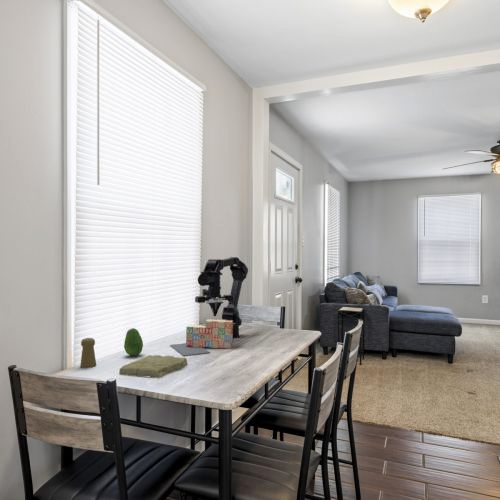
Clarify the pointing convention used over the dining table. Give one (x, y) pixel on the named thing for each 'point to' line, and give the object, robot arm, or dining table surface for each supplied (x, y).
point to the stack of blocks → (210, 334)
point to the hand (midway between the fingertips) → (214, 316)
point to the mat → (188, 349)
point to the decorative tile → (153, 366)
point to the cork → (88, 353)
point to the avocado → (133, 342)
